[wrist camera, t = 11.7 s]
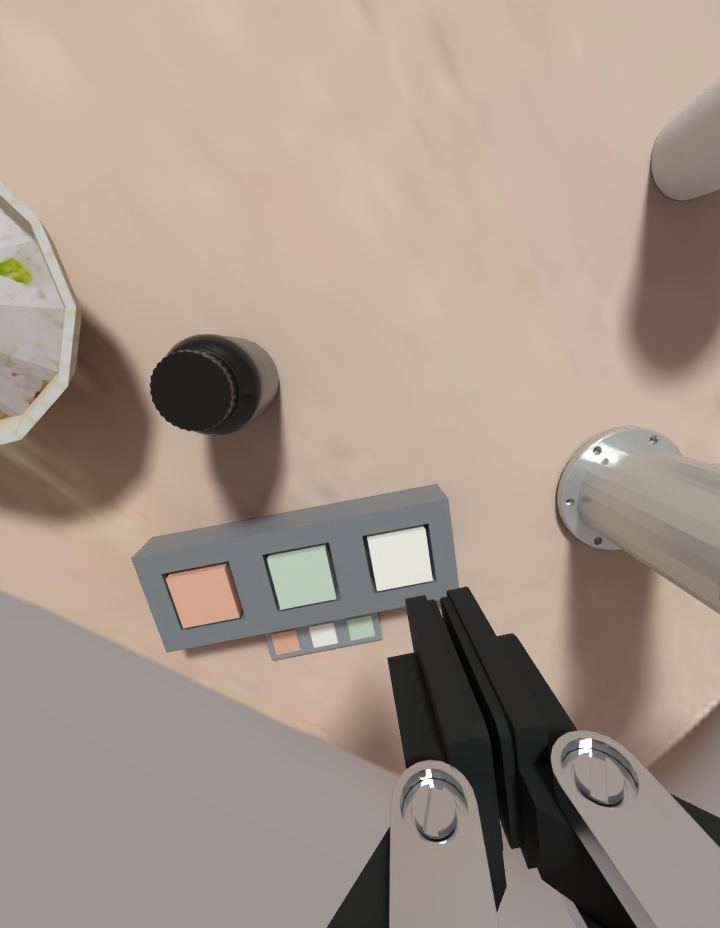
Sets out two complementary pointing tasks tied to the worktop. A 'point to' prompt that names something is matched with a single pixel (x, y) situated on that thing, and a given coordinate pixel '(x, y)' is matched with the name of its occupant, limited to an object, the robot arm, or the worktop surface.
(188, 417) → the supplement bottle
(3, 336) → the bowl
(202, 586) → the terracotta key
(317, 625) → the card
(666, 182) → the coffee cup
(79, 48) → the worktop surface
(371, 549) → the cream key
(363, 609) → the keypad
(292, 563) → the sage key
